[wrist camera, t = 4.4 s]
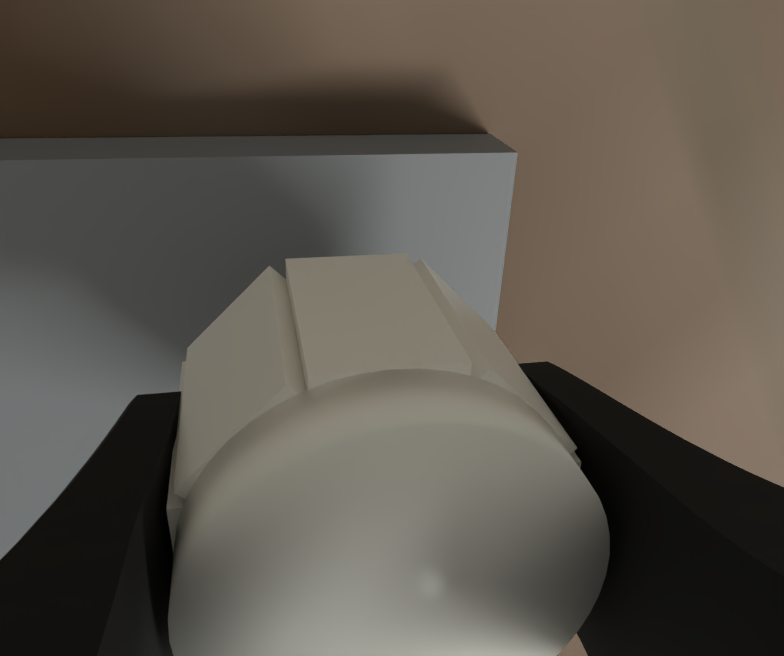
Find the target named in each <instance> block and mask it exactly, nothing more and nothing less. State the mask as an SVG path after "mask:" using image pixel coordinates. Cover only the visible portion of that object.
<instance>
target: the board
mask: <svg viewBox="0 0 784 656" xmlns="http://www.w3.org/2000/svg"><path fill="white" fill-rule="evenodd" d="M517 154H518V152H516V151H515V150H513V149H512V148H510V147H509V146H507V145H506V144H504V143H503V142H501V141H500V140H498V139H497V138H495V137H494V136H493V135H491V134H425V135H319V136H214V137H108V138H2V139H0V560H1V558H2V557H3V556H4V555H5V554H6V553H7V552H8V551H9V550H10V549H11V548H12V547H13V546H14V545H15V544H16V543H17V542H18V541H19V540H20V539H21V538H22V537H23V535H24V534H25V533H26V532H27V531H28V530H29V529H30V528H31V526H32V525H33V524H34V523H35V522H36V521H37V520H38V519H39V518H40V516H41V515H42V514H43V513H44V512H45V511H46V510H47V509H48V508H49V506H50V505H51V504H52V503H53V502H54V501H55V500H56V499H57V497H58V496H59V495H60V494H61V493H62V491H63V490H64V489H65V488H66V487H67V485H68V484H69V483H70V482H71V480H72V479H73V478H74V477H75V475H76V474H77V473H78V472H79V470H80V469H81V468H82V467H83V465H84V464H85V463H86V462H87V460H88V459H89V458H90V457H91V455H92V454H93V453H94V451H95V450H96V449H97V447H98V446H99V445H100V443H101V442H102V441H103V439H104V438H105V437H106V435H107V434H108V433H109V431H110V430H111V428H112V427H113V426H114V424H115V423H116V421H117V420H118V419H119V417H120V416H121V414H122V413H123V411H124V410H125V409H126V407H127V406H128V404H129V403H130V402H131V401H132V400H133V399H134V398H135V397H136V396H137V395H141V394H154V393H166V392H178V391H179V388H180V378H181V369H182V362H185V361H186V356H187V348H188V347H189V346H190V345H191V344H192V343H193V342H194V341H195V340H196V339H197V338H198V337H199V336H200V335H201V334H202V333H203V332H204V331H205V330H206V329H207V328H208V327H209V326H210V325H211V324H212V323H213V322H214V321H215V320H216V319H217V318H218V317H219V316H220V315H221V314H222V313H223V312H224V311H225V310H226V309H227V308H228V307H229V306H230V305H231V304H232V303H233V302H234V301H235V300H236V299H237V298H238V297H239V296H240V295H241V294H242V293H243V292H244V291H245V290H246V289H247V288H248V287H249V286H250V284H251V283H252V282H253V281H254V280H255V279H256V278H257V277H258V276H259V275H260V274H261V273H262V272H263V271H264V270H265V269H266V268H267V267H268V266H271V267H272V268H273V269H274V270H275V271H277V272H278V273H279V274H280V275H281V276H283V277H284V278H285V279H286V264H285V259H290V258H312V257H334V256H357V255H379V254H402V253H406V254H407V255H408V257H409V259H410V260H411V262H412V264H413V265H415V264H416V263H417V262H418V261H419V260H420V259H422V260H423V261H424V262H425V263H426V264H427V265H428V266H429V267H430V268H431V269H432V270H433V271H434V272H435V273H436V274H437V275H438V276H439V277H440V278H441V279H442V280H444V281H445V282H446V283H447V284H448V285H449V286H450V287H451V288H452V289H453V290H454V291H455V292H456V293H457V294H458V295H459V296H460V297H461V298H462V299H463V300H464V301H465V302H466V303H467V304H468V305H469V306H470V307H471V308H472V309H473V310H474V311H475V312H476V313H478V314H479V315H480V316H481V317H482V318H483V319H484V320H485V321H486V322H487V323H488V324H489V325H490V326H491V327H492V328H493V330H494V331H496V323H497V315H498V307H499V299H500V291H501V283H502V274H503V266H504V258H505V250H506V242H507V234H508V226H509V218H510V210H511V202H512V194H513V186H514V178H515V170H516V162H517Z"/></svg>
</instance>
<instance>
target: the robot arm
mask: <svg viewBox="0 0 784 656" xmlns="http://www.w3.org/2000/svg"><path fill="white" fill-rule="evenodd" d="M518 365H519V366H520V368H521V369H522V371H523V372H524V373H525V375H526V376H527V378H528V379H529V381H530V382H531V383H532V385H533V386H534V388H535V389H536V390H537V392H538V393H539V395H540V396H541V397H542V399H543V400H544V402H545V403H546V404H547V406H548V407H549V409H550V410H551V411H552V413H553V414H554V416H555V417H556V418H557V420H558V421H559V423H560V424H561V426H562V427H563V428H564V430H565V431H566V433H567V434H568V435H569V437H570V438H571V440H572V441H573V442H574V444H575V445H576V447H577V449H576V450H575V451H574V452H575V453H576V455H577V456H578V458H579V459H580V461H581V467H580V469H581V471H582V472H583V474H584V475H585V477H586V478H587V479H588V481H589V482H590V484H591V486H592V487H593V489H594V490H595V492H596V494H597V495H598V497H599V498H600V501H601V504H602V506H603V509H604V512H605V514H606V517H607V523H608V528H609V534H610V556H609V561H608V567H607V573H606V577H605V579H604V582H603V585H602V588H601V591H600V594H599V596H598V598H597V600H596V602H595V604H594V606H593V608H592V610H591V612H590V614H589V615H588V617H587V618H586V620H585V621H584V623H583V624H582V626H581V627H580V629H579V630H578V632H577V634H578V636H579V638H580V640H581V642H582V644H583V646H584V648H585V650H586V652H587V655H588V656H784V487H781V486H779V485H777V484H774V483H772V482H770V481H768V480H765V479H763V478H761V477H759V476H756V475H754V474H752V473H750V472H748V471H745V470H743V469H741V468H739V467H737V466H735V465H733V464H731V463H729V462H727V461H725V460H723V459H721V458H719V457H717V456H715V455H713V454H711V453H709V452H707V451H705V450H704V449H702V448H700V447H698V446H696V445H694V444H692V443H690V442H688V441H686V440H684V439H683V438H681V437H679V436H677V435H675V434H674V433H672V432H670V431H668V430H666V429H664V428H663V427H661V426H659V425H657V424H656V423H654V422H652V421H650V420H649V419H647V418H645V417H644V416H642V415H640V414H638V413H637V412H635V411H633V410H632V409H630V408H628V407H626V406H625V405H623V404H621V403H620V402H618V401H616V400H615V399H613V398H611V397H610V396H608V395H606V394H605V393H603V392H601V391H600V390H598V389H596V388H595V387H593V386H591V385H590V384H588V383H586V382H584V381H583V380H581V379H579V378H578V377H576V376H574V375H572V374H571V373H569V372H567V371H565V370H563V369H561V368H560V367H558V366H556V365H554V364H551V363H549V362H536V363H523V364H518ZM180 398H181V391H178V392H166V393H154V394H141V395H137V396H136V397H135V398H134V399H133V400H132V401H131V402H130V403H129V404H128V406H127V407H126V409H125V410H124V411H123V413H122V414H121V416H120V417H119V419H118V420H117V421H116V423H115V424H114V426H113V427H112V428H111V430H110V431H109V433H108V434H107V435H106V437H105V438H104V439H103V441H102V442H101V443H100V445H99V446H98V447H97V449H96V450H95V451H94V453H93V454H92V455H91V457H90V458H89V459H88V460H87V462H86V463H85V464H84V465H83V467H82V468H81V469H80V470H79V472H78V473H77V474H76V475H75V477H74V478H73V479H72V480H71V482H70V483H69V484H68V485H67V487H66V488H65V489H64V490H63V491H62V493H61V494H60V495H59V496H58V497H57V499H56V500H55V501H54V502H53V503H52V504H51V505H50V506H49V508H48V509H47V510H46V511H45V512H44V513H43V514H42V515H41V516H40V518H39V519H38V520H37V521H36V522H35V523H34V524H33V525H32V526H31V528H30V529H29V530H28V531H27V532H26V533H25V534H24V535H23V537H22V538H21V539H20V540H19V541H18V542H17V543H16V544H15V545H14V546H13V547H12V548H11V549H10V550H9V551H8V552H7V553H6V554H5V555H4V556H3V557H2V558H1V560H0V656H173V652H172V649H171V645H170V642H169V630H168V611H169V600H170V588H171V577H172V566H173V549H172V542H171V536H170V529H169V523H168V517H167V510H166V508H167V499H168V489H169V480H170V471H171V462H172V452H173V448H174V444H175V440H176V436H177V427H178V418H179V408H180Z"/></svg>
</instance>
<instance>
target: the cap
mask: <svg viewBox="0 0 784 656" xmlns="http://www.w3.org/2000/svg"><path fill="white" fill-rule="evenodd" d="M285 264H286V279H285V278H284V277H283V276H281V275H280V274H279V273H278V272H277V271H275V270H274V269H273V268H272V267H271V266H268V267H267V268H266V269H265V270H264V271H263V272H262V273H261V274H260V275H259V276H258V277H257V278H256V279H255V280H254V281H253V282H252V283H251V284H250V286H249V287H248V288H247V289H246V290H245V291H244V292H243V293H242V294H241V295H240V296H239V297H238V298H237V299H236V300H235V301H234V302H233V303H232V304H231V305H230V306H229V307H228V308H227V309H226V310H225V311H224V312H223V313H222V314H221V315H220V316H219V317H218V318H217V319H216V320H215V321H214V322H213V323H212V324H211V325H210V326H209V327H208V328H207V329H206V330H205V331H204V332H203V333H202V334H201V335H200V336H199V337H198V338H197V339H196V340H195V341H194V342H193V343H192V344H191V345H190V346H189V347H188V348H187V356H186V361H185V362H182V369H181V378H180V388H179V391H181V398H180V408H179V418H178V427H177V436H176V440H175V444H174V448H173V452H172V462H171V471H170V480H169V489H168V499H167V508H166V510H167V517H168V523H169V529H170V536H171V542H172V549H173V566H172V577H171V588H170V600H169V611H168V630H169V642H170V645H171V649H172V652H173V656H556V655H557V654H558V653H559V652H560V651H561V650H562V649H563V648H564V647H565V646H566V645H567V644H568V642H569V641H570V640H571V639H572V638H573V636H574V635H575V634H576V633H577V632H578V630H579V629H580V627H581V626H582V624H583V623H584V621H585V620H586V618H587V617H588V615H589V614H590V612H591V610H592V608H593V606H594V604H595V602H596V600H597V598H598V596H599V594H600V591H601V588H602V585H603V582H604V579H605V577H606V573H607V567H608V561H609V556H610V534H609V528H608V523H607V517H606V514H605V512H604V509H603V506H602V504H601V501H600V498H599V497H598V495H597V494H596V492H595V490H594V489H593V487H592V486H591V484H590V482H589V481H588V479H587V478H586V477H585V475H584V474H583V472H582V471H581V469H580V467H581V461H580V459H579V458H578V456H577V455H576V453H575V452H574V451H575V450H576V449H577V447H576V445H575V444H574V442H573V441H572V440H571V438H570V437H569V435H568V434H567V433H566V431H565V430H564V428H563V427H562V426H561V424H560V423H559V421H558V420H557V418H556V417H555V416H554V414H553V413H552V411H551V410H550V409H549V407H548V406H547V404H546V403H545V402H544V400H543V399H542V397H541V396H540V395H539V393H538V392H537V390H536V389H535V388H534V386H533V385H532V383H531V382H530V381H529V379H528V378H527V376H526V375H525V373H524V372H523V371H522V369H521V368H520V366H519V365H518V364H517V362H516V361H515V359H514V358H513V357H512V355H511V354H510V352H509V351H508V350H507V348H506V347H505V345H504V344H503V343H502V341H501V340H500V338H499V337H498V335H497V334H496V333H495V331H494V330H493V328H492V327H491V326H490V325H489V324H488V323H487V322H486V321H485V320H484V319H483V318H482V317H481V316H480V315H479V314H478V313H476V312H475V311H474V310H473V309H472V308H471V307H470V306H469V305H468V304H467V303H466V302H465V301H464V300H463V299H462V298H461V297H460V296H459V295H458V294H457V293H456V292H455V291H454V290H453V289H452V288H451V287H450V286H449V285H448V284H447V283H446V282H445V281H444V280H442V279H441V278H440V277H439V276H438V275H437V274H436V273H435V272H434V271H433V270H432V269H431V268H430V267H429V266H428V265H427V264H426V263H425V262H424V261H423V260H422V259H420V260H419V261H418V262H417V263H416V264H415V265H413V264H412V262H411V260H410V259H409V257H408V255H407V254H406V253H402V254H379V255H357V256H334V257H312V258H290V259H285Z"/></svg>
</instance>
